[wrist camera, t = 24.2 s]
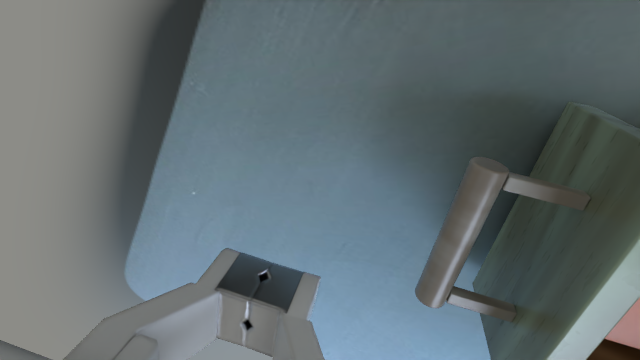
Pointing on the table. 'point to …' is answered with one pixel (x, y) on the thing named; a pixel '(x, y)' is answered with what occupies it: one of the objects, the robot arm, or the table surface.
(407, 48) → the table surface
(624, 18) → the table surface
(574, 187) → the drawer
